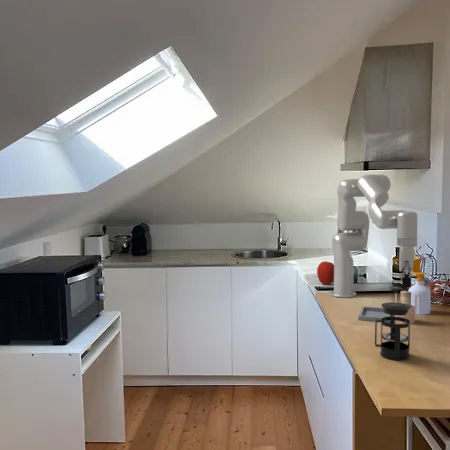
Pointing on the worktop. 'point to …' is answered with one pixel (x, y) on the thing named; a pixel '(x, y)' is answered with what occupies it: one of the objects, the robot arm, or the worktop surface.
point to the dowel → (405, 298)
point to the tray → (372, 314)
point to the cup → (408, 315)
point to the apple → (326, 272)
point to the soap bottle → (420, 291)
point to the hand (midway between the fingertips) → (406, 284)
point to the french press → (394, 331)
